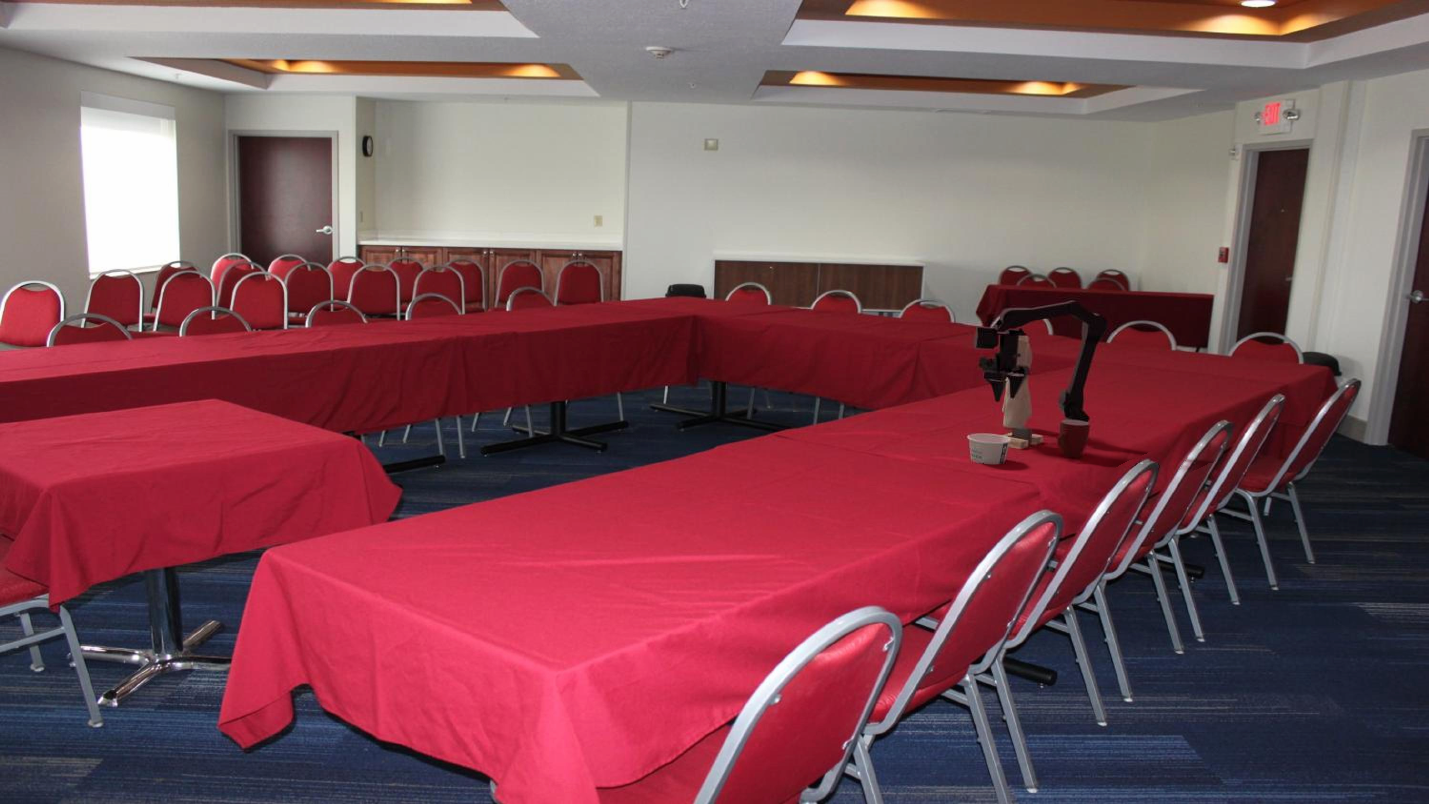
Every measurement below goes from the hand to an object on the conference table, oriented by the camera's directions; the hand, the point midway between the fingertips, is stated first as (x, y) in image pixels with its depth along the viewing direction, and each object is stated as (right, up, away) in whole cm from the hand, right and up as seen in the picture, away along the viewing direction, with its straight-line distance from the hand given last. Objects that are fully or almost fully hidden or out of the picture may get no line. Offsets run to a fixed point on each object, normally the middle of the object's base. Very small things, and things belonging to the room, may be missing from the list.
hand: (1004, 400), depth 328 cm
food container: (-12, -17, -27) cm, 35 cm away
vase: (+9, -9, +19) cm, 22 cm away
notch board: (+3, -13, -5) cm, 14 cm away
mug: (+13, -17, -21) cm, 30 cm away
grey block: (+3, -13, -5) cm, 15 cm away
